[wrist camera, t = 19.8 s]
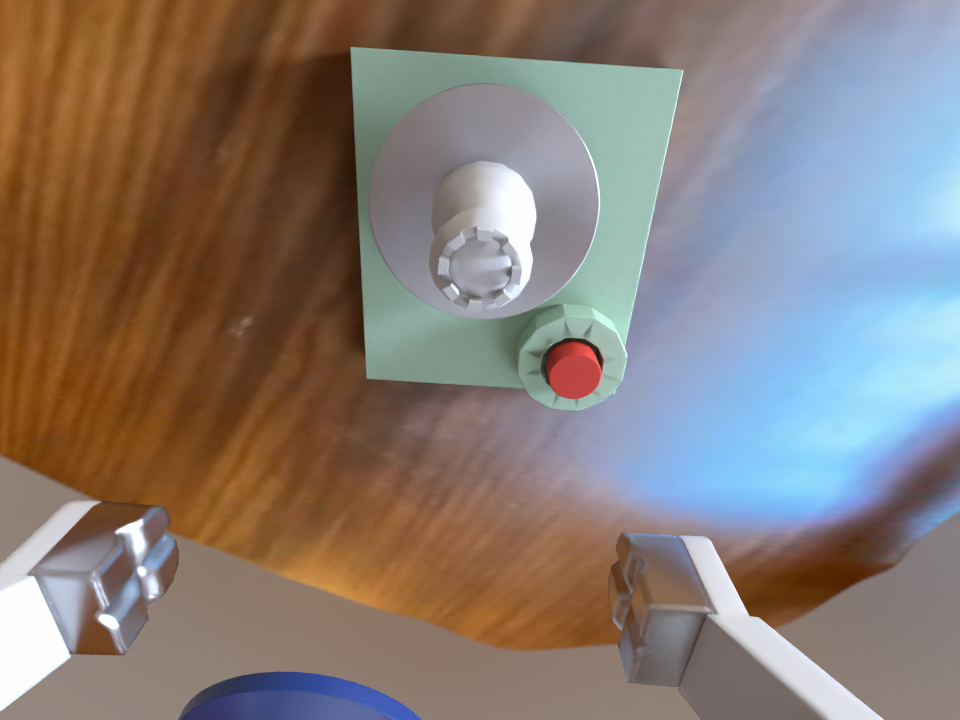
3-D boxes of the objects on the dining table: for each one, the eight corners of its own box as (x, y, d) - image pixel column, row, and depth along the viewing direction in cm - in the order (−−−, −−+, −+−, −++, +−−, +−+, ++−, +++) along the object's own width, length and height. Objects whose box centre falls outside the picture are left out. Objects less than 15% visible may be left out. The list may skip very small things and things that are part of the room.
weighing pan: (579, 321, 25) (580, 326, 25) (375, 308, 25) (372, 312, 25) (616, 92, 21) (619, 92, 20) (366, 74, 21) (363, 74, 20)
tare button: (591, 385, 28) (596, 401, 26) (542, 382, 27) (545, 398, 26) (599, 341, 26) (605, 355, 25) (549, 338, 26) (551, 352, 25)
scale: (607, 381, 31) (619, 414, 28) (373, 366, 31) (359, 397, 28) (670, 70, 23) (697, 68, 20) (360, 49, 23) (340, 44, 20)
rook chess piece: (551, 180, 22) (580, 225, 15) (513, 276, 24) (522, 357, 17) (450, 143, 21) (428, 171, 14) (420, 245, 23) (388, 314, 16)
